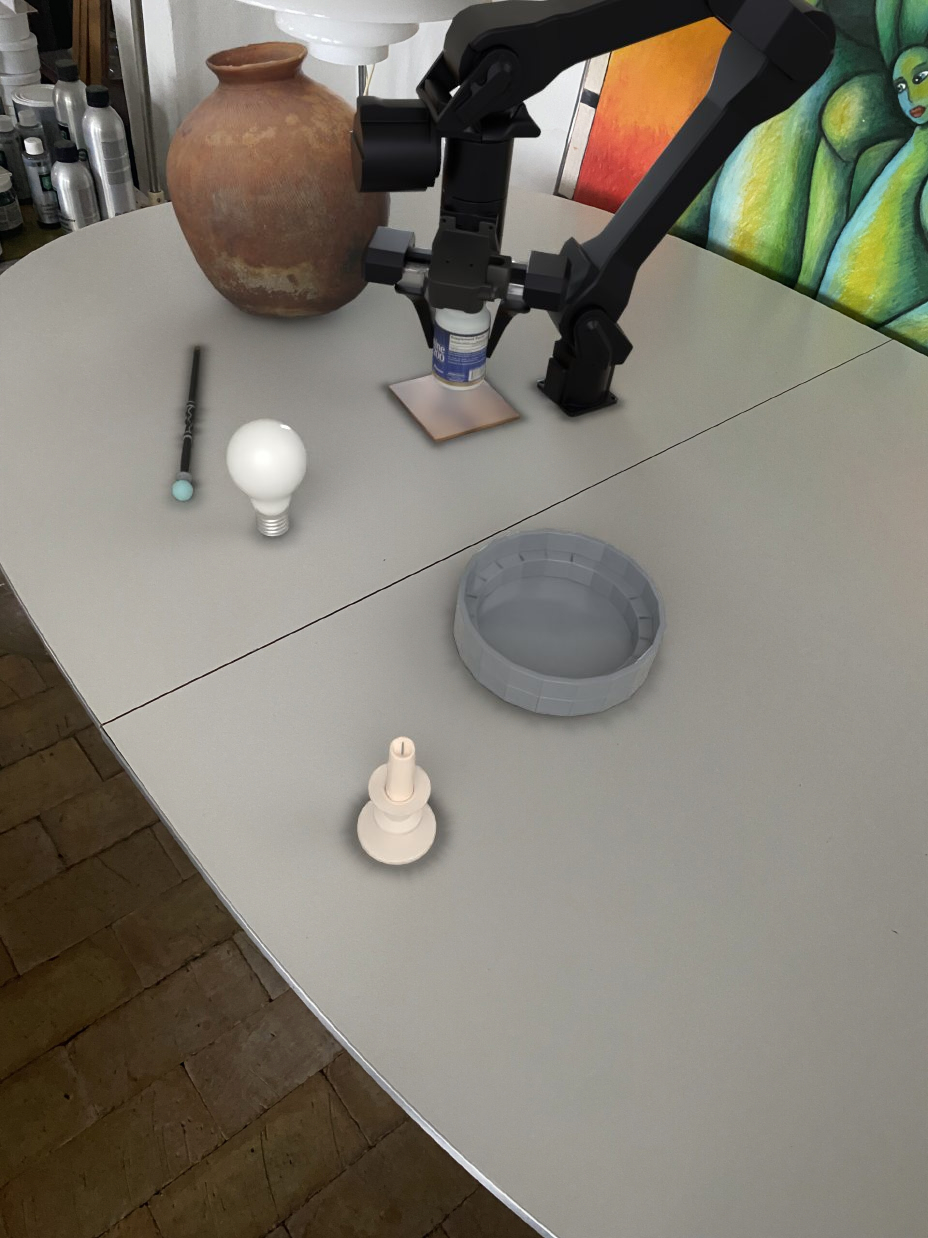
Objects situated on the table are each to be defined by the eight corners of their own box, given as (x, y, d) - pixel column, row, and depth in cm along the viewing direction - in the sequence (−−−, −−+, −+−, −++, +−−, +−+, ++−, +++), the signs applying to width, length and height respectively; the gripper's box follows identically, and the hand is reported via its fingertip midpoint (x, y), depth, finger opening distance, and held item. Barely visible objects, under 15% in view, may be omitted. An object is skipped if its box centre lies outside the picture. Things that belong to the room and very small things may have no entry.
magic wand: (200, 357, 93) (208, 344, 93) (186, 508, 77) (196, 494, 76) (185, 348, 92) (193, 336, 92) (167, 499, 76) (177, 486, 75)
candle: (438, 864, 56) (450, 780, 49) (357, 867, 56) (356, 782, 48) (433, 793, 60) (445, 704, 52) (357, 795, 59) (357, 705, 51)
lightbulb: (323, 519, 77) (319, 415, 69) (290, 565, 73) (282, 461, 65) (258, 499, 78) (246, 394, 70) (222, 543, 74) (205, 437, 66)
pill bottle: (429, 361, 89) (435, 271, 82) (481, 363, 90) (491, 273, 83) (432, 392, 86) (439, 300, 79) (486, 393, 87) (497, 302, 79)
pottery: (396, 351, 96) (405, 99, 77) (178, 350, 92) (132, 86, 74) (380, 252, 111) (385, 21, 92) (192, 248, 107) (157, 6, 88)
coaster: (469, 367, 95) (469, 364, 95) (519, 418, 90) (520, 415, 89) (388, 388, 91) (388, 385, 91) (435, 442, 86) (435, 439, 85)
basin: (574, 545, 78) (584, 507, 74) (691, 672, 69) (708, 635, 66) (417, 604, 71) (420, 565, 68) (525, 752, 63) (534, 716, 59)
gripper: (344, 211, 69) (347, 380, 81) (576, 247, 68) (545, 413, 80) (375, 157, 77) (374, 320, 88) (585, 190, 76) (556, 350, 87)
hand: (459, 351), depth 86 cm, fingers closed on pill bottle, 5 cm apart
